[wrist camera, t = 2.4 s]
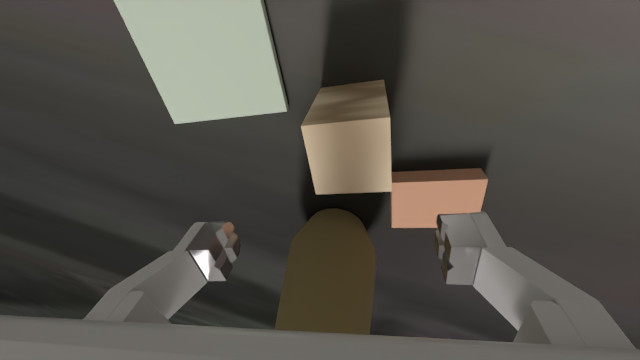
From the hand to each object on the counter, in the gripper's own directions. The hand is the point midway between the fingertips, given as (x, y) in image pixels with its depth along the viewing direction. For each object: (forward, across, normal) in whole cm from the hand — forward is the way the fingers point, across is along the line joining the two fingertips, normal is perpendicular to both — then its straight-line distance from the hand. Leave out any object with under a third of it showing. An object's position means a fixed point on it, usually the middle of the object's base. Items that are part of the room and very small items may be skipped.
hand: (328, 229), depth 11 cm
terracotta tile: (+12, -7, +8) cm, 16 cm away
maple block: (+12, -1, 0) cm, 12 cm away
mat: (+12, +9, -6) cm, 16 cm away
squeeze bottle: (+12, +2, +12) cm, 17 cm away
